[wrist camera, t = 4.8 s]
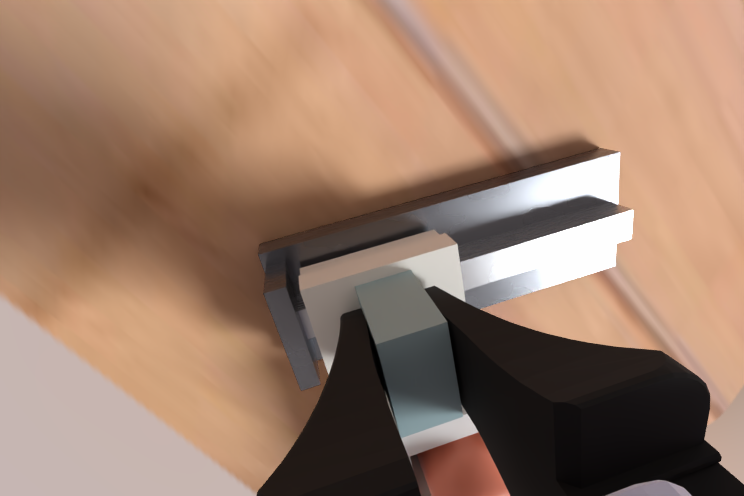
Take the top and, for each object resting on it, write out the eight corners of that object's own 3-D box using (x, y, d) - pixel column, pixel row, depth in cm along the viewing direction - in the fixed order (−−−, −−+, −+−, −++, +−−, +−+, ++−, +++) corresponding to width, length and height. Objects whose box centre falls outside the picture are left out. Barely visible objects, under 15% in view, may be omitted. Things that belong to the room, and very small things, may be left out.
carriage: (447, 313, 16) (517, 408, 11) (327, 351, 15) (347, 467, 11) (432, 221, 14) (507, 288, 10) (297, 261, 14) (305, 352, 9)
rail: (598, 257, 18) (654, 287, 15) (299, 350, 17) (302, 402, 14) (601, 148, 16) (665, 160, 13) (259, 244, 15) (254, 280, 12)
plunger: (478, 441, 18) (526, 528, 15) (416, 462, 18) (451, 557, 14) (470, 393, 17) (521, 475, 14) (405, 415, 17) (438, 506, 13)
